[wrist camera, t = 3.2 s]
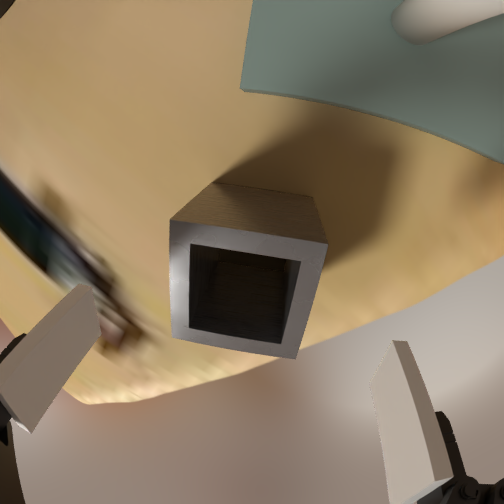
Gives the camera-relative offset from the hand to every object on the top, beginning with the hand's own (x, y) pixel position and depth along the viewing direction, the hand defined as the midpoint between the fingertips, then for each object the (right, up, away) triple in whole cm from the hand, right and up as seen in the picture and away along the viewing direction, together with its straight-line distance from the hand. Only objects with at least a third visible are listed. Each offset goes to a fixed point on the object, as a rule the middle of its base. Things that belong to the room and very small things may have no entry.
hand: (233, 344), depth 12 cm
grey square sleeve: (+1, +5, +10) cm, 11 cm away
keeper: (+11, +19, +2) cm, 22 cm away
